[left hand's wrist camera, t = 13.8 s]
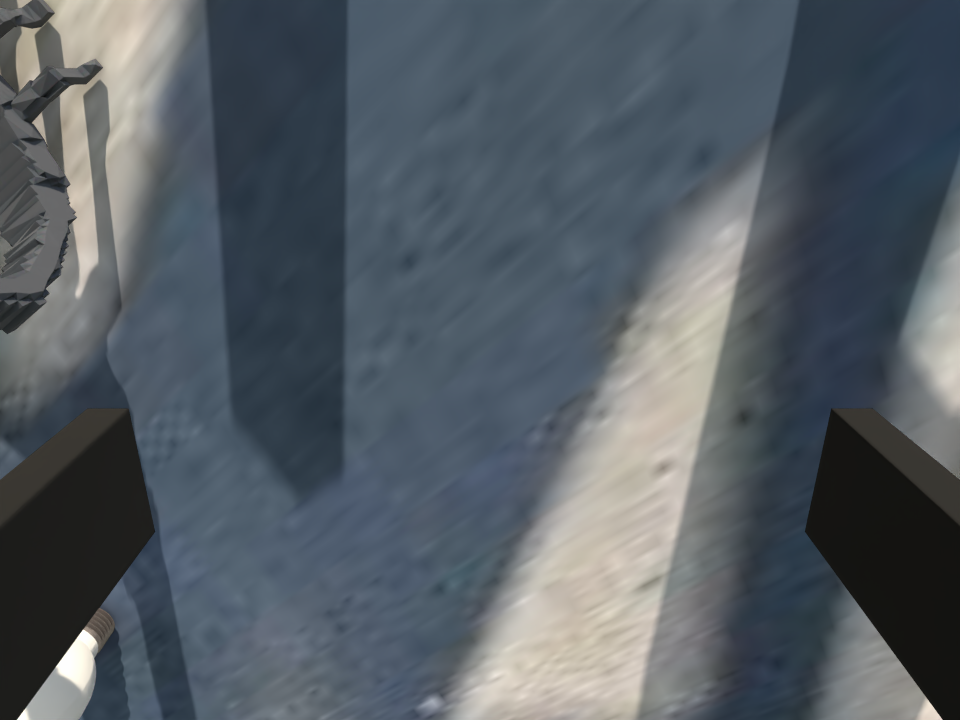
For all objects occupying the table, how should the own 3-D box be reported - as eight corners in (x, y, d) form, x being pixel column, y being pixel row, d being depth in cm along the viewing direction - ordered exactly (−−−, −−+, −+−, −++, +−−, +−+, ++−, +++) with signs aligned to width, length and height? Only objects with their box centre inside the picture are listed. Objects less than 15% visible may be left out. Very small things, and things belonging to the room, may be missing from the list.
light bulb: (115, 584, 52) (26, 705, 42) (143, 651, 55) (65, 780, 45) (31, 594, 53) (-77, 716, 42) (62, 659, 55) (-32, 790, 45)
